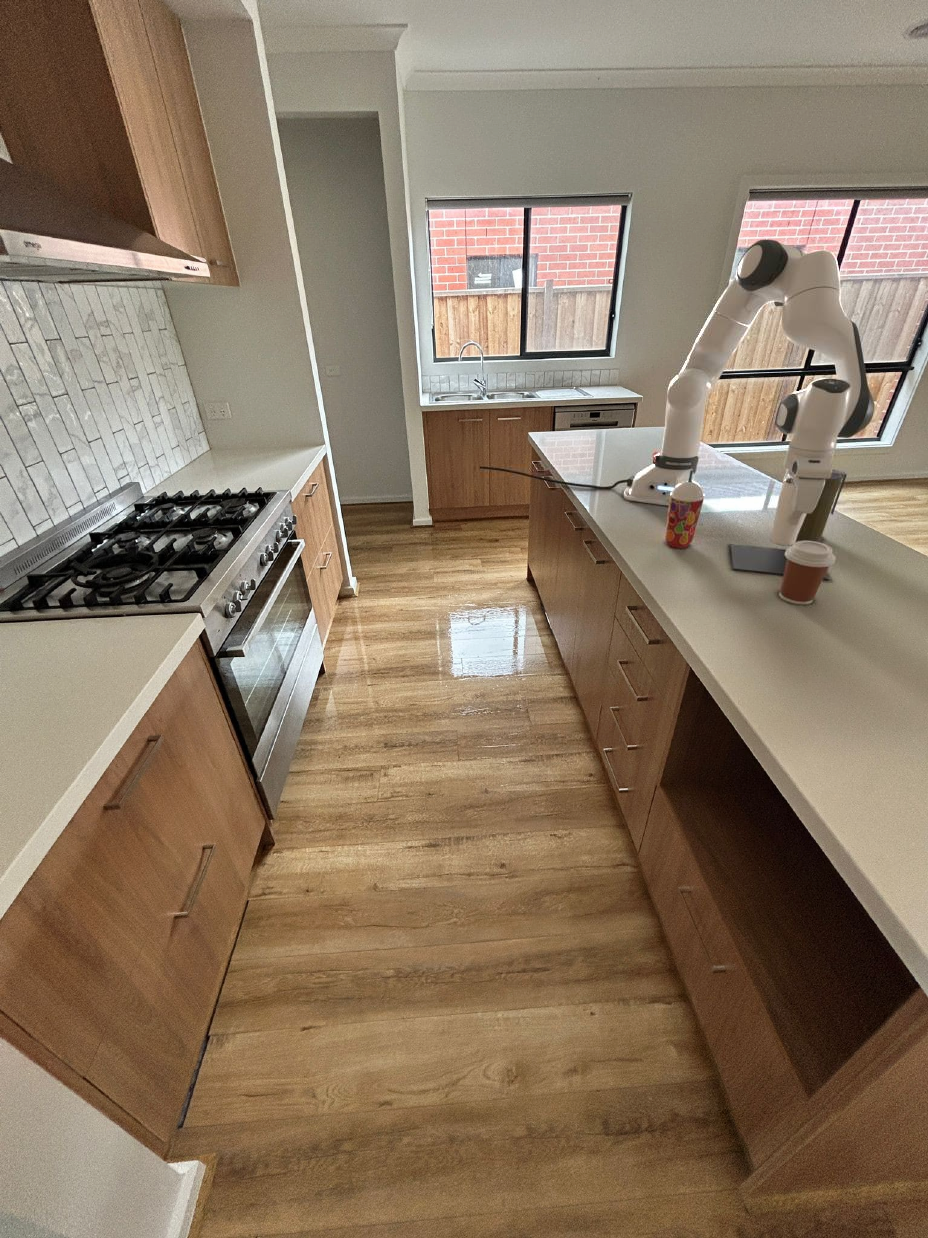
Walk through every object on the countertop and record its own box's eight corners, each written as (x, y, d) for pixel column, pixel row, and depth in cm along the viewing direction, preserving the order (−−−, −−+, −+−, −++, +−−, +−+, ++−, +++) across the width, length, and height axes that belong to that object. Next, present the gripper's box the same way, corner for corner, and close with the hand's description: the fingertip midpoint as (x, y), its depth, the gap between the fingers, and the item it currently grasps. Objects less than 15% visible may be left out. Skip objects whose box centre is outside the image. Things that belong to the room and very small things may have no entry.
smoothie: (693, 539, 141) (708, 466, 130) (694, 551, 134) (710, 476, 124) (661, 536, 143) (674, 465, 133) (661, 548, 137) (674, 474, 126)
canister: (780, 541, 137) (803, 466, 127) (775, 527, 145) (796, 455, 135) (827, 545, 134) (854, 469, 123) (819, 530, 142) (844, 457, 131)
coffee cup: (764, 587, 117) (779, 538, 110) (805, 586, 116) (823, 537, 110) (784, 608, 109) (801, 556, 103) (828, 607, 108) (848, 555, 102)
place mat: (733, 569, 125) (733, 568, 124) (729, 545, 136) (730, 544, 136) (828, 580, 118) (828, 578, 118) (816, 553, 130) (816, 552, 130)
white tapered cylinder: (760, 538, 127) (777, 478, 119) (786, 535, 128) (805, 476, 120) (777, 549, 122) (795, 487, 114) (804, 546, 122) (824, 485, 114)
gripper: (785, 447, 123) (769, 502, 131) (799, 471, 107) (780, 533, 114) (815, 448, 121) (798, 504, 128) (834, 473, 105) (813, 535, 112)
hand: (790, 518), depth 121 cm, fingers closed on white tapered cylinder, 6 cm apart
